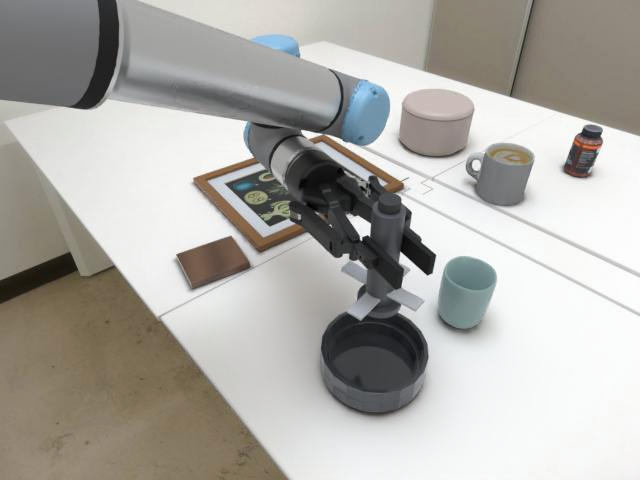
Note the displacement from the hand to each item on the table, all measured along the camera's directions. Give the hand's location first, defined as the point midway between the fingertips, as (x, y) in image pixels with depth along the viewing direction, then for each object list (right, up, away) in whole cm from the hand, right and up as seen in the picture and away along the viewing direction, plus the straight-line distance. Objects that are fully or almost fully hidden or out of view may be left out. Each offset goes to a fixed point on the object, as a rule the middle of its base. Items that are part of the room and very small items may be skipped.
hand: (415, 272), depth 48 cm
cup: (+12, -9, +27) cm, 31 cm away
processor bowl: (-3, -16, +19) cm, 25 cm away
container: (+20, +29, +74) cm, 82 cm away
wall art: (-15, +16, +58) cm, 62 cm away
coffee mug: (+29, +15, +56) cm, 65 cm away
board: (-30, -1, +37) cm, 48 cm away
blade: (-3, -4, +10) cm, 11 cm away
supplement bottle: (+52, +20, +62) cm, 83 cm away
